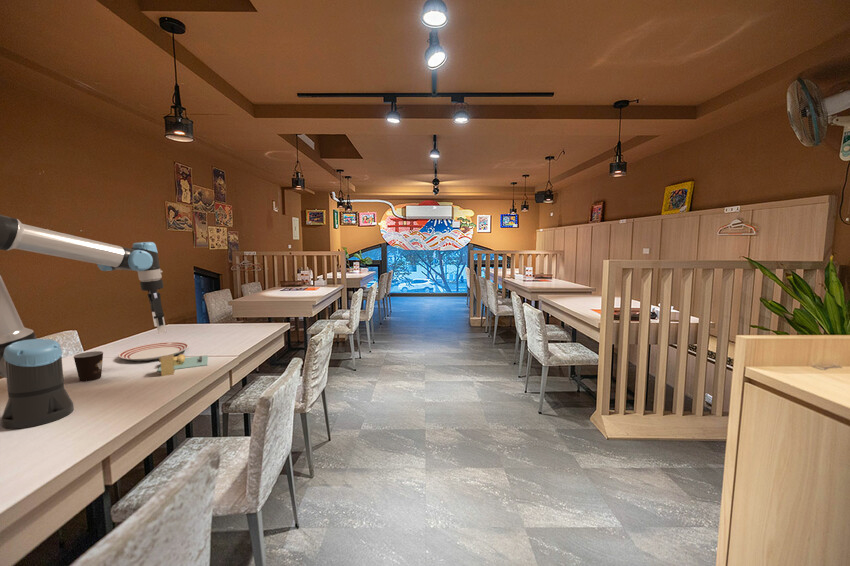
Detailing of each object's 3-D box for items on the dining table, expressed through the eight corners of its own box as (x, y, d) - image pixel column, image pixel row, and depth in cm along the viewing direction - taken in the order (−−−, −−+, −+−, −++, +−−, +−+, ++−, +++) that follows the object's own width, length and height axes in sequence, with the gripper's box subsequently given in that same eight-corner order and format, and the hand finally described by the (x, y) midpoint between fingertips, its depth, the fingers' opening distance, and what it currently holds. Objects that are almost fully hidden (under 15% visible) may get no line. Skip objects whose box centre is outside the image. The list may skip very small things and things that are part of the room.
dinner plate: (153, 366, 161) (153, 359, 160) (102, 362, 165) (102, 355, 165) (202, 349, 188) (201, 343, 187) (157, 346, 192) (156, 340, 192)
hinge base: (207, 365, 162) (206, 357, 161) (157, 371, 153) (157, 363, 152) (207, 356, 176) (207, 348, 175) (162, 361, 166) (161, 353, 166)
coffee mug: (87, 383, 139) (85, 358, 138) (69, 381, 141) (67, 356, 140) (118, 373, 150) (116, 350, 149) (101, 371, 152) (99, 348, 151)
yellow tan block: (173, 374, 150) (172, 358, 149) (159, 376, 147) (158, 359, 147) (174, 370, 155) (173, 354, 154) (160, 372, 152) (160, 356, 152)
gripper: (166, 281, 142) (175, 333, 146) (158, 275, 160) (167, 321, 164) (142, 284, 137) (152, 338, 141) (137, 278, 155) (146, 325, 159)
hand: (160, 329), depth 153 cm, fingers open, 13 cm apart
